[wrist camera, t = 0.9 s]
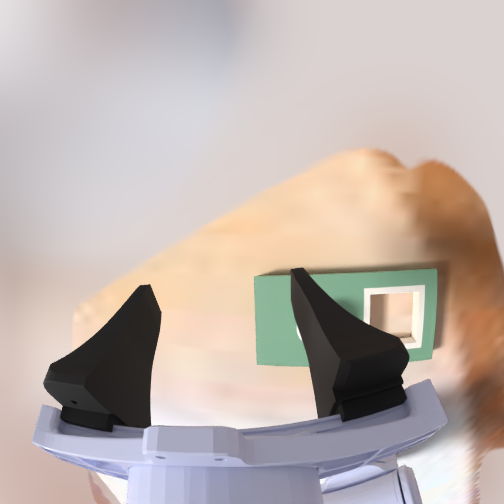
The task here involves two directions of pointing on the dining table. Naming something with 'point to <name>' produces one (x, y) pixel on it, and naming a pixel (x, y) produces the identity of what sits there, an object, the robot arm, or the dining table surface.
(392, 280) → the green
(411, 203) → the dining table surface
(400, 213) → the dining table surface
